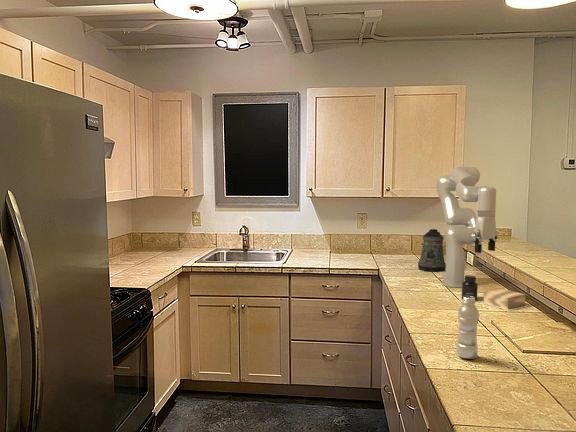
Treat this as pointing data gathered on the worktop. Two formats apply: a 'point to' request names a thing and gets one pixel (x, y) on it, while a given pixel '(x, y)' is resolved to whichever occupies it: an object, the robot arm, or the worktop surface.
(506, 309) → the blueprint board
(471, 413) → the worktop surface
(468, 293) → the supplement bottle
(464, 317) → the plastic bottle
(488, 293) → the oak plinth
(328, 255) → the worktop surface
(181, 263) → the worktop surface
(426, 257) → the dark grey bell
